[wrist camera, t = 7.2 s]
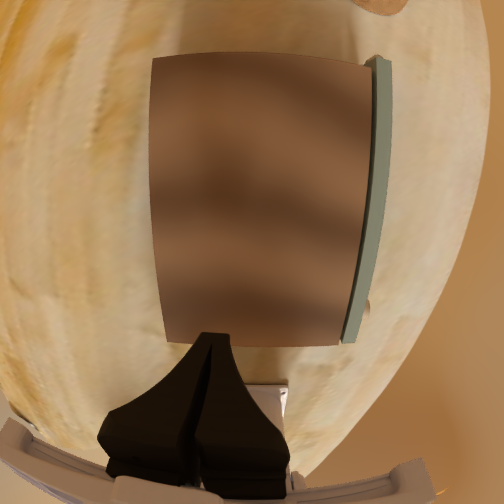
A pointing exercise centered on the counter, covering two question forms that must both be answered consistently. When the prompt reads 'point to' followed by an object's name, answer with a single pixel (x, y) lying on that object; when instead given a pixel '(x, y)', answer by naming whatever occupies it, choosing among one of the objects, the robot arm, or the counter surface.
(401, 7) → the beer glass
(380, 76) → the cabinet door
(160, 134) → the cabinet
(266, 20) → the counter surface
